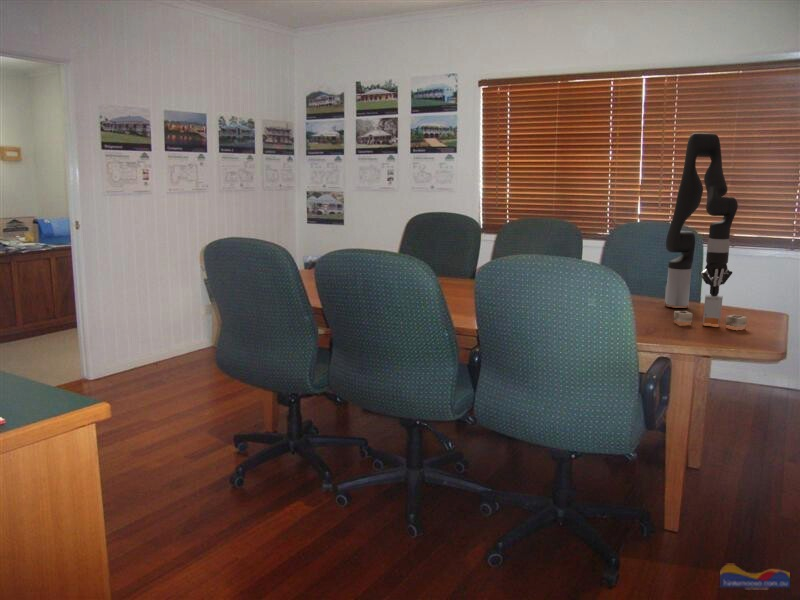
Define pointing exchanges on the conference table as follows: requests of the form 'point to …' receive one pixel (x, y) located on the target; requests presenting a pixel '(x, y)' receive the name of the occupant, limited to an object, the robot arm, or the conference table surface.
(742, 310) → the conference table surface
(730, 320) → the marked block
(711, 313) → the skincare box
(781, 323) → the conference table surface
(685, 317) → the marked block
